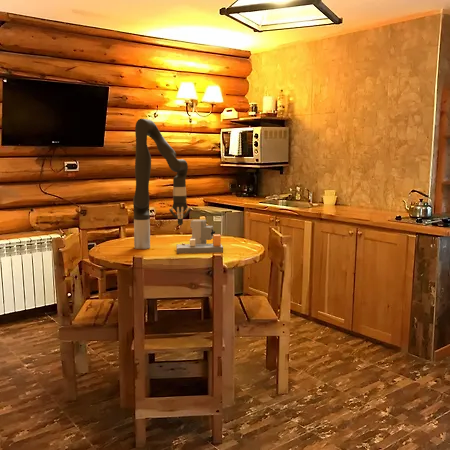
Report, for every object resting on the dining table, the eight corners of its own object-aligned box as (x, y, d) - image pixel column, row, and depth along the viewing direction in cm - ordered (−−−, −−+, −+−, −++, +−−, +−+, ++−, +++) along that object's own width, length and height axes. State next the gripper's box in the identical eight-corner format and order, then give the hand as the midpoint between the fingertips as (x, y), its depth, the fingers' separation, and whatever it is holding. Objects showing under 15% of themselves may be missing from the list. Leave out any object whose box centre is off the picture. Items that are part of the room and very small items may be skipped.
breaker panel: (177, 253, 287) (177, 246, 287) (176, 249, 299) (176, 243, 298) (223, 252, 291) (223, 245, 290) (220, 248, 302) (220, 242, 302)
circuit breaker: (213, 246, 310) (213, 221, 308) (190, 245, 313) (190, 220, 311) (216, 243, 317) (215, 220, 315) (193, 243, 320) (193, 219, 318)
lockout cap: (213, 245, 293) (213, 235, 293) (212, 244, 297) (213, 234, 296) (220, 245, 294) (220, 235, 293) (219, 244, 298) (219, 234, 297)
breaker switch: (190, 246, 292) (190, 240, 291) (189, 244, 296) (189, 238, 295) (195, 245, 292) (195, 239, 292) (194, 244, 296) (194, 238, 295)
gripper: (168, 195, 284) (168, 226, 287) (191, 195, 286) (192, 225, 289) (167, 194, 292) (168, 224, 294) (190, 194, 293) (191, 223, 296)
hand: (180, 225), depth 291 cm, fingers closed
